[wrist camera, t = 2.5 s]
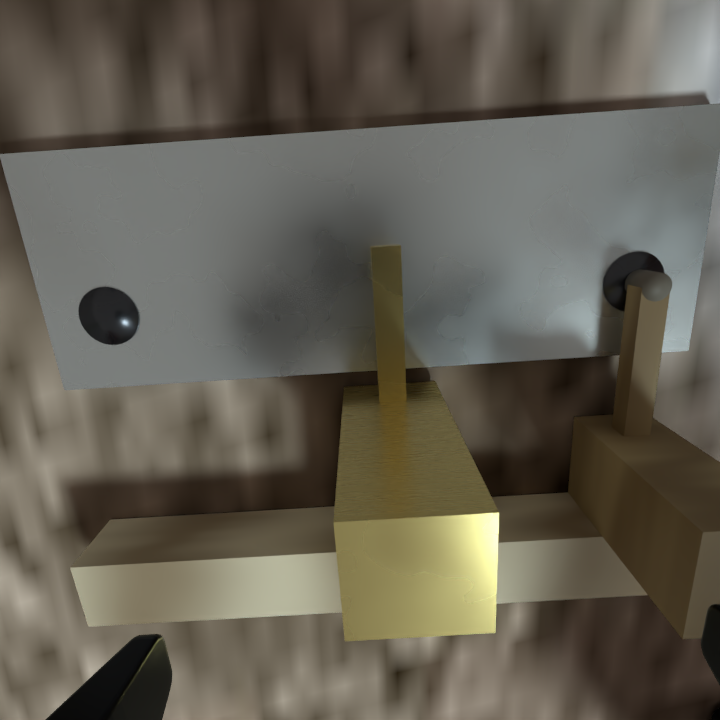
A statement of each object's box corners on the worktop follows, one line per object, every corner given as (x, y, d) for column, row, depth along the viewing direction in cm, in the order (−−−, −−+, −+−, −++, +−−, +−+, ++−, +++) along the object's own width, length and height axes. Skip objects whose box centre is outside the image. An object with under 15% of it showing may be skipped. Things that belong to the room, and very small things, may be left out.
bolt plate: (713, 107, 13) (729, 102, 12) (677, 346, 15) (689, 351, 14) (12, 156, 13) (-3, 154, 12) (73, 384, 15) (62, 390, 14)
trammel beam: (690, 262, 14) (924, 291, 8) (648, 542, 17) (796, 705, 11) (52, 304, 14) (-156, 361, 8) (124, 572, 17) (7, 748, 11)
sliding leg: (432, 240, 13) (506, 258, 7) (437, 540, 17) (491, 755, 10) (332, 247, 14) (309, 271, 7) (356, 545, 17) (356, 762, 10)
